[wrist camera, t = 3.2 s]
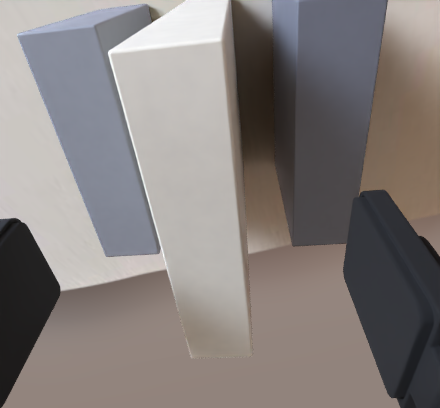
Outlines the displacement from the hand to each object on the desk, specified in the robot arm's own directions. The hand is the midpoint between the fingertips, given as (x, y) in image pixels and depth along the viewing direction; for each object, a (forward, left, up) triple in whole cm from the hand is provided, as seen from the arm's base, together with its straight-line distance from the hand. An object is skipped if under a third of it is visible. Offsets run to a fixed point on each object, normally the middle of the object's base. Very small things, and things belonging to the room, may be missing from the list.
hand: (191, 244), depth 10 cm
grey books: (0, 0, -15) cm, 15 cm away
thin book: (0, 0, -15) cm, 15 cm away
